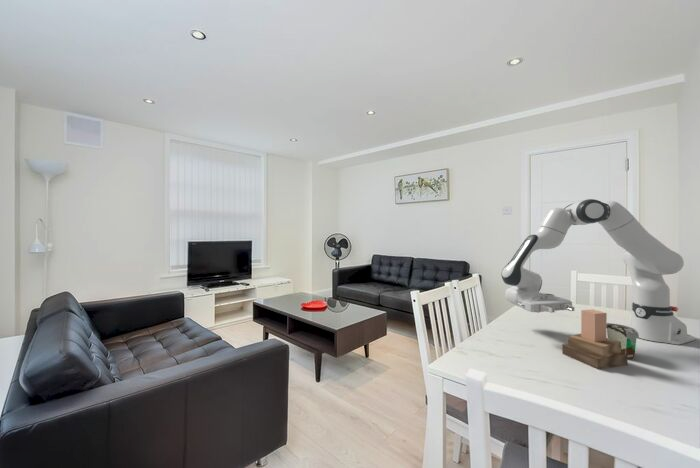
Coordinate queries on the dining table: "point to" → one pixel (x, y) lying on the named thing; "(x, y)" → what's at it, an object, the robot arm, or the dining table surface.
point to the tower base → (595, 358)
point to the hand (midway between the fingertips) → (563, 309)
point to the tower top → (595, 346)
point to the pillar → (593, 325)
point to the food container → (623, 338)
